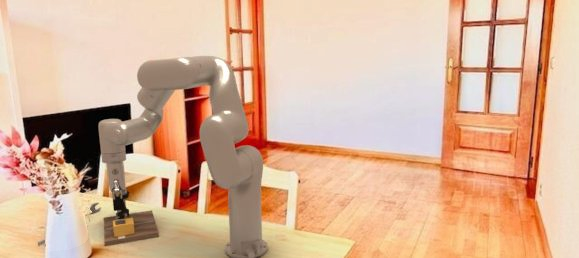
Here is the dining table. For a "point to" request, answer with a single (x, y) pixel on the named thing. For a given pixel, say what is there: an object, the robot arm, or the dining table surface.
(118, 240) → the board
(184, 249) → the dining table surface
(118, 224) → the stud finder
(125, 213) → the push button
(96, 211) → the combination wrench
